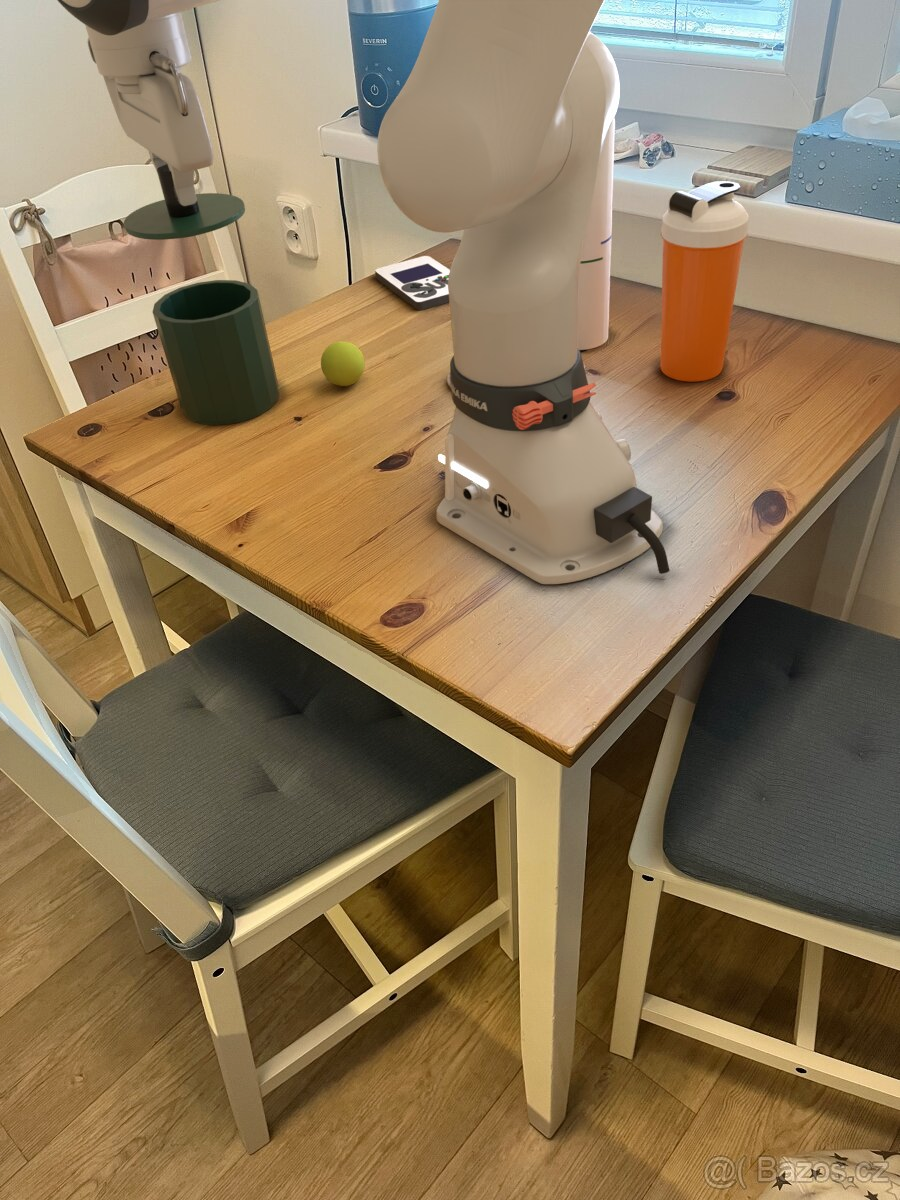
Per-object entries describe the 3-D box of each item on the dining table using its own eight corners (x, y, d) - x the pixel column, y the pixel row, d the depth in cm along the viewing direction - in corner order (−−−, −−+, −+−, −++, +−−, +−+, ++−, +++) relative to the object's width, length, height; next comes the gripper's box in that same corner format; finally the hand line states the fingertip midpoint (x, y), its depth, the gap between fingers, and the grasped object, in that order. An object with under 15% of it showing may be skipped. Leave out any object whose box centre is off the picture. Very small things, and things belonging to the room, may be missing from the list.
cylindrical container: (619, 333, 118) (628, 116, 102) (586, 354, 114) (590, 133, 98) (573, 320, 122) (574, 109, 106) (539, 341, 118) (535, 125, 102)
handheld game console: (428, 262, 141) (427, 253, 140) (475, 294, 131) (474, 285, 130) (374, 277, 139) (373, 268, 138) (418, 311, 128) (417, 301, 127)
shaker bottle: (747, 367, 108) (771, 187, 96) (694, 394, 105) (712, 210, 92) (688, 344, 114) (703, 171, 101) (636, 368, 110) (645, 192, 98)
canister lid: (264, 224, 97) (252, 165, 93) (146, 255, 93) (128, 195, 89) (223, 196, 106) (210, 142, 102) (113, 224, 101) (96, 168, 98)
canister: (294, 404, 111) (272, 302, 102) (201, 435, 107) (171, 332, 98) (258, 369, 118) (235, 271, 110) (170, 397, 114) (140, 298, 106)
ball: (374, 384, 113) (368, 344, 109) (335, 398, 111) (328, 357, 108) (355, 369, 116) (349, 329, 113) (317, 382, 114) (310, 342, 111)
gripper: (208, 53, 82) (244, 214, 91) (143, 29, 96) (179, 171, 105) (138, 67, 80) (182, 230, 89) (82, 40, 94) (125, 184, 103)
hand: (180, 198), depth 97 cm, fingers closed on canister lid, 3 cm apart
